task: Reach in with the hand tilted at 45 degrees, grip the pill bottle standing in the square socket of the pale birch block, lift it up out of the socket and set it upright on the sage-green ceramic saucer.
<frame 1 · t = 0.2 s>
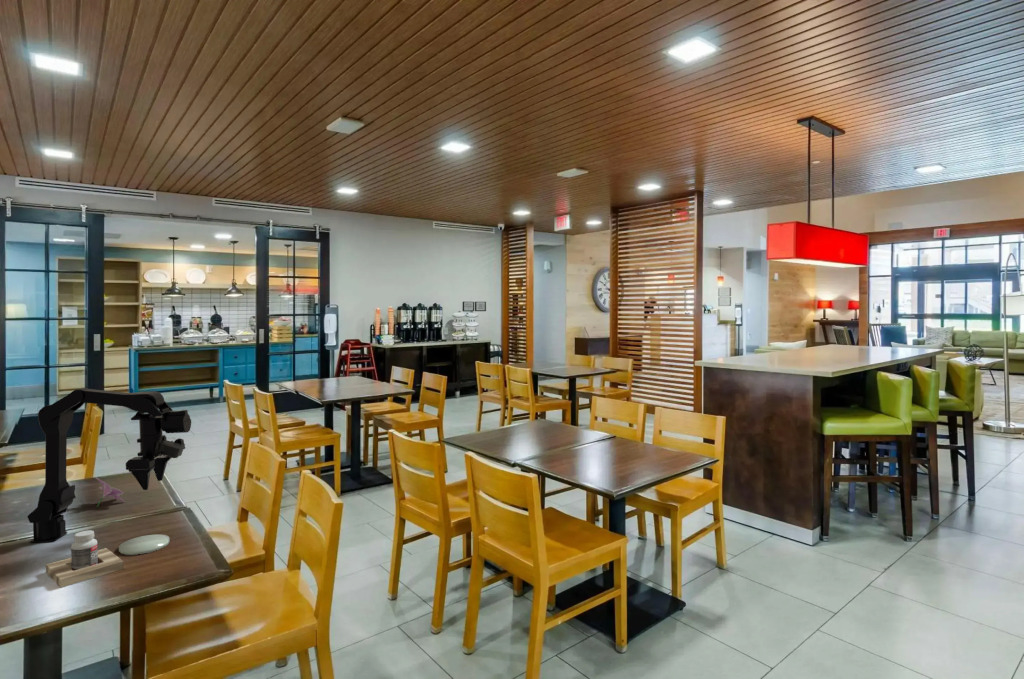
hand: (153, 485, 167), 15 cm above the table, tool pointing down, fingers open, 9 cm apart
pill bottle: (85, 571, 142), resting in socket block
lily: (110, 504, 193), on the table
socket block: (85, 570, 142), on the table
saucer: (144, 546, 158), on the table
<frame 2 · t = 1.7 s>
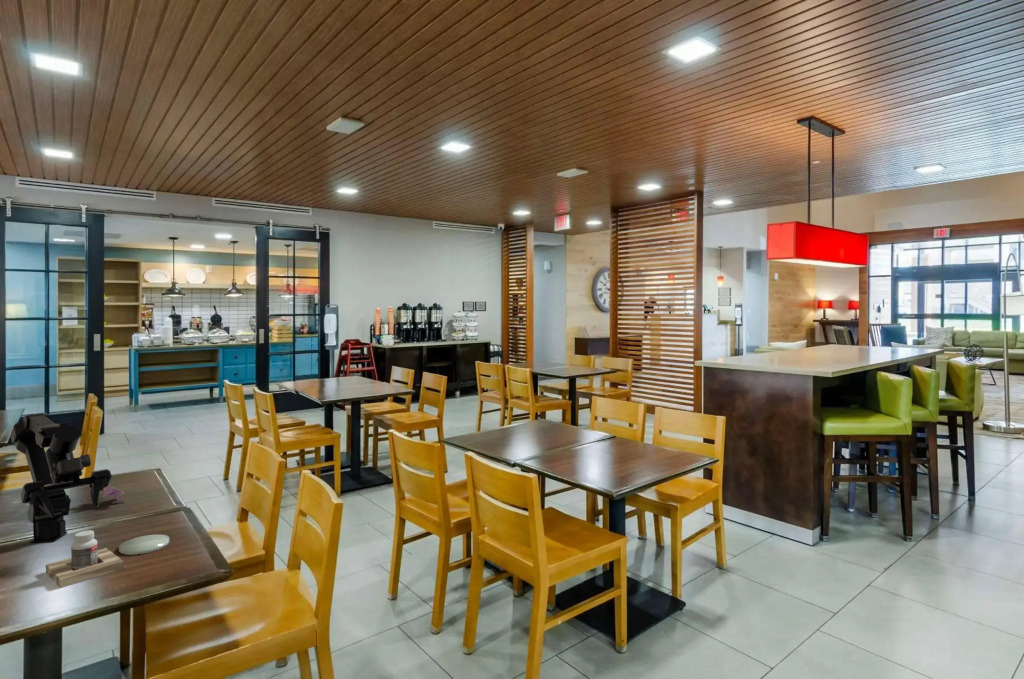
hand: (75, 512, 147), 13 cm above the table, tool tilted 45°, fingers open, 9 cm apart
nothing on the table moved.
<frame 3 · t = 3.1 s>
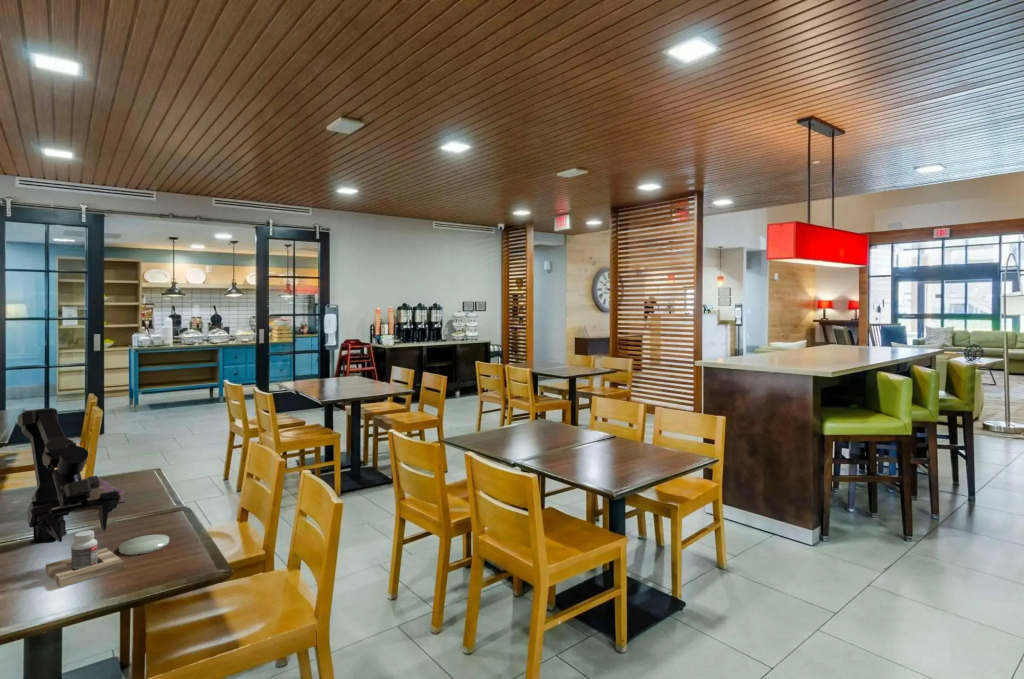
hand: (83, 535, 143), 9 cm above the table, tool tilted 45°, fingers open, 9 cm apart
nothing on the table moved.
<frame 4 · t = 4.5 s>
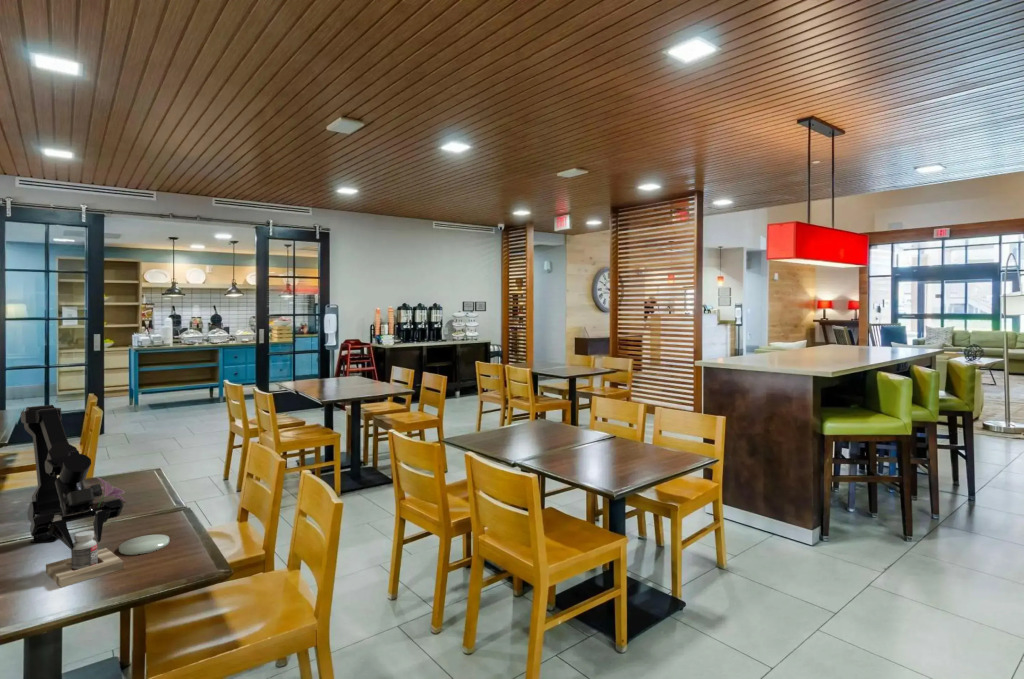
hand: (86, 544, 141), 7 cm above the table, tool tilted 45°, fingers closed on pill bottle, 5 cm apart
pill bottle: (85, 571, 142), resting in socket block, touching gripper
everything else where it was.
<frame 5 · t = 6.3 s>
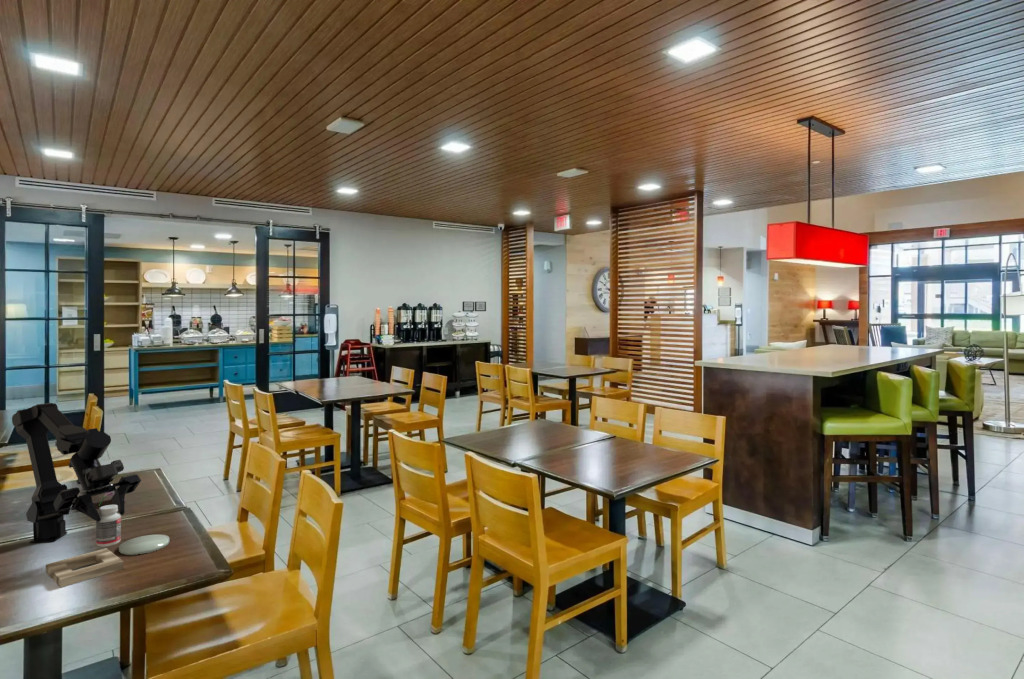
hand: (111, 517, 146), 12 cm above the table, tool tilted 45°, fingers closed on pill bottle, 5 cm apart
pill bottle: (108, 543, 147), point 5 cm above the table, touching gripper
everything else where it was.
when the fingers open (9 cm above the table, at t = 8.3 s): pill bottle stays where it is, resting on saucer.
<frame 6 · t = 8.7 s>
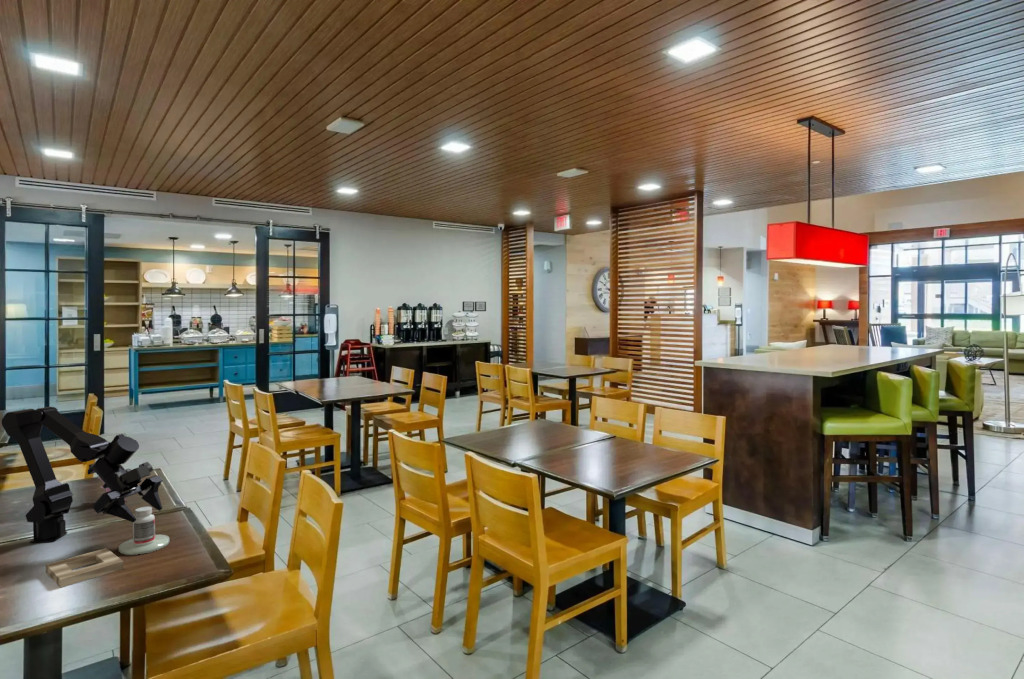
hand: (148, 515, 157), 9 cm above the table, tool tilted 45°, fingers open, 9 cm apart
pill bottle: (144, 543, 158), point 1 cm above the table, touching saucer
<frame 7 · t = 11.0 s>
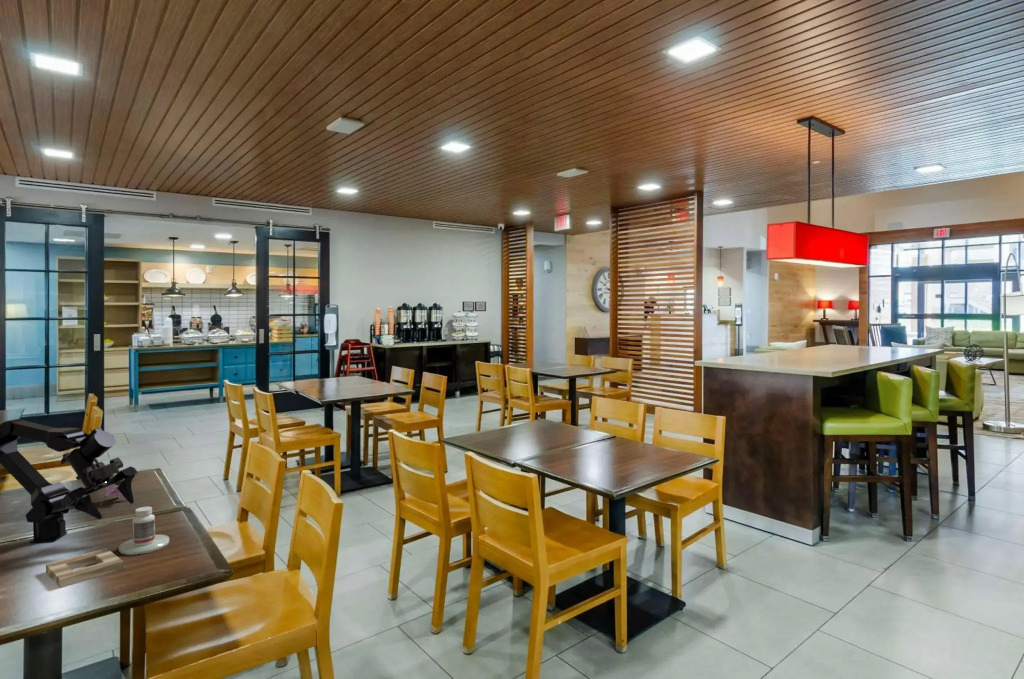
hand: (117, 510, 159), 9 cm above the table, tool tilted 40°, fingers open, 9 cm apart
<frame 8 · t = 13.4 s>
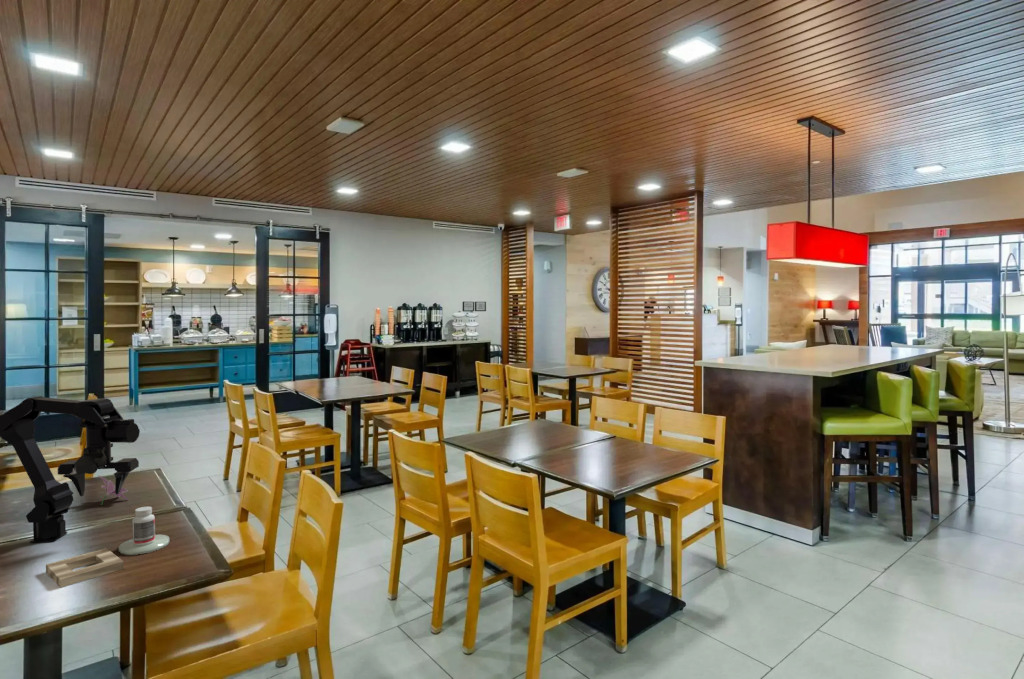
hand: (99, 495, 162), 13 cm above the table, tool pointing down, fingers open, 9 cm apart
at the end: pill bottle inside the target area on the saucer (0.2 cm from its centre), point 0.8 cm above the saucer's base; pill bottle tilted 0°; the gripper is holding nothing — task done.
